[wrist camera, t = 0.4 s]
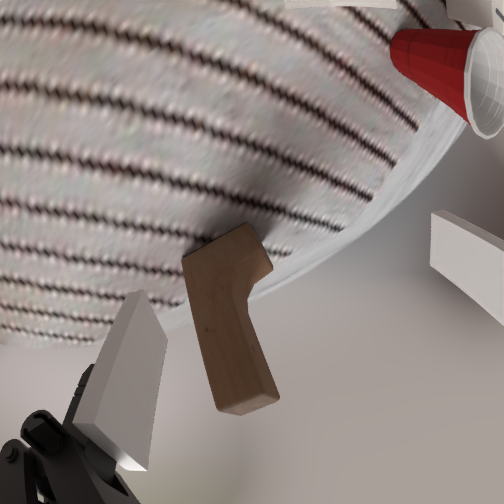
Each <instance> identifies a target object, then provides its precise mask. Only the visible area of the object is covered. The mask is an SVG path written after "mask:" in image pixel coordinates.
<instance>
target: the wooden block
mask: <svg viewBox="0 0 504 504" xmlns="http://www.w3.org/2000/svg"><path fill="white" fill-rule="evenodd" d="M181 262H182V268H183V273H184V278H185V283H186V288H187V293H188V297H189V302H190V307H191V311H192V316H193V320H194V324H195V329H196V333H197V337H198V341H199V345H200V349H201V353H202V357H203V361H204V365H205V369H206V372H207V376H208V380H209V384H210V387H211V391H212V394H213V398H214V402H215V405H216V408H217V410H218V411H219V412H224V413H229V414H233V415H240V416H241V415H244V414H247V413H249V412H252V411H255V410H257V409H260V408H262V407H265V406H267V405H270V404H272V403H274V402H277V401H278V400H279V399H280V395H279V393H278V390H277V387H276V385H275V382H274V380H273V377H272V375H271V372H270V370H269V367H268V364H267V362H266V359H265V357H264V354H263V351H262V349H261V346H260V344H259V341H258V338H257V336H256V333H255V330H254V328H253V325H252V322H251V320H250V317H249V314H248V303H247V299H248V297H249V294H250V292H251V290H252V288H253V286H254V284H255V283H257V282H258V281H259V280H261V279H262V278H263V277H265V276H266V275H268V274H269V273H270V272H272V271H273V265H272V263H271V261H270V259H269V257H268V255H267V253H266V251H265V249H264V247H263V245H262V243H261V241H260V240H259V238H258V236H257V235H256V233H255V231H254V230H253V228H252V226H251V225H250V224H249V223H244V224H243V225H241V226H239V227H237V228H235V229H234V230H232V231H230V232H228V233H227V234H225V235H223V236H221V237H219V238H218V239H216V240H214V241H212V242H211V243H209V244H207V245H205V246H204V247H202V248H200V249H198V250H197V251H195V252H193V253H191V254H190V255H188V256H186V257H184V258H183V259H182V260H181Z"/></svg>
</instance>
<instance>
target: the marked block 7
mask: <svg viewBox="0 0 504 504" xmlns="http://www.w3.org/2000/svg"><path fill="white" fill-rule="evenodd" d="M446 8H447V18H449V19H453V20H457V21H461V22H464V23H468V24H471V25H475V26H478V27H481V28H484V27H491V28H494V29H497V30H499V32H500V33H501V34H502V35H504V0H446Z"/></svg>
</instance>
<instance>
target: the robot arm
mask: <svg viewBox="0 0 504 504" xmlns="http://www.w3.org/2000/svg"><path fill="white" fill-rule="evenodd" d="M430 265H431V266H432V267H433V268H435V269H436V270H437V271H439V272H440V273H441V274H443V275H444V276H445V277H446V278H448V279H449V280H450V281H451V282H453V283H454V284H455V285H457V286H458V287H459V288H460V289H462V290H463V291H464V292H465V293H466V294H467V295H469V296H470V297H471V298H472V299H473V300H475V301H476V302H477V303H478V304H479V305H481V306H482V307H483V308H484V309H485V310H486V311H488V312H489V313H490V314H491V315H492V316H493V317H494V318H495V319H497V320H498V321H499V322H500V323H501V324H502V325H503V326H504V240H502V239H500V238H498V237H496V236H495V235H493V234H491V233H489V232H487V231H485V230H483V229H481V228H479V227H477V226H475V225H473V224H471V223H469V222H467V221H465V220H463V219H461V218H459V217H457V216H455V215H453V214H451V213H448V212H446V211H444V210H440V211H436V212H433V213H431V255H430ZM167 342H168V339H167V337H166V335H165V333H164V331H163V329H162V327H161V325H160V323H159V321H158V319H157V317H156V315H155V313H154V311H153V309H152V307H151V305H150V303H149V300H148V298H147V296H146V294H145V292H144V290H139V291H136V292H132V293H128V294H127V296H126V298H125V300H124V302H123V304H122V306H121V308H120V310H119V312H118V314H117V316H116V318H115V321H114V323H113V325H112V327H111V329H110V331H109V333H108V336H107V338H106V340H105V342H104V344H103V347H102V349H101V351H100V353H99V356H98V358H97V361H96V363H95V364H91V365H90V366H89V367H88V368H87V369H86V371H85V372H84V373H83V374H82V377H81V379H80V381H79V384H78V387H77V388H76V391H75V393H74V395H75V396H74V397H73V398H72V401H71V403H70V406H69V408H68V411H67V413H66V416H65V419H64V421H63V424H62V425H61V424H60V423H59V422H58V421H57V420H56V419H55V418H54V417H53V416H52V415H51V414H50V413H49V412H48V411H46V410H38V411H36V412H33V413H32V414H31V415H29V417H27V419H26V420H25V421H24V423H23V425H22V428H21V438H22V439H23V440H24V441H26V442H27V443H28V444H29V445H30V446H31V447H30V448H28V447H27V446H25V445H24V444H23V443H22V442H21V441H20V440H17V439H12V440H9V441H8V442H6V443H5V444H4V446H3V447H2V450H1V452H0V504H140V502H139V501H138V500H137V499H136V497H135V496H134V494H133V493H132V492H131V490H130V489H129V488H128V486H127V484H126V483H125V482H124V480H123V479H122V477H121V476H120V475H119V474H118V473H117V472H116V471H115V468H116V463H118V464H119V465H121V466H122V467H124V468H125V469H126V470H134V471H135V470H136V471H147V470H148V461H149V453H150V445H151V437H152V430H153V423H154V416H155V410H156V403H157V397H158V390H159V385H160V379H161V374H162V368H163V362H164V358H165V353H166V347H167ZM37 493H39V494H40V495H42V496H43V497H44V503H42V502H40V501H39V500H38V497H37Z"/></svg>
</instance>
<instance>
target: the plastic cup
mask: <svg viewBox="0 0 504 504" xmlns="http://www.w3.org/2000/svg"><path fill="white" fill-rule="evenodd" d="M390 57H391V60H392V62H393V65H394V66H395V67H396V69H397V70H398V71H399V72H401V73H402V75H404V76H406V77H407V78H409V79H411V80H412V81H414V82H415V83H417V84H418V85H419V86H420V87H422V88H423V89H425V90H426V91H428V92H429V93H431V94H432V95H434V96H435V97H436V98H438V99H439V100H441V101H442V102H443V103H445V104H446V105H448V106H449V107H450V108H452V109H453V110H454V111H455V112H456V113H457V114H458V115H460V116H461V117H462V118H463V119H464V120H465V121H467V122H468V123H469V125H471V127H472V128H473V130H474V131H475V133H476V134H477V135H479V136H481V137H483V138H485V139H489V138H492V137H494V136H496V135H497V133H498V132H499V131H500V130H501V129H502V127H503V126H504V37H503V35H502V34H501V33H500V32H499V30H497V29H494V28H491V27H484V28H483V29H481V30H472V31H470V30H463V31H460V30H448V29H427V28H424V29H405V30H401V31H399V32H397V33H396V34H395V36H394V37H393V38H392V41H391V45H390Z"/></svg>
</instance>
